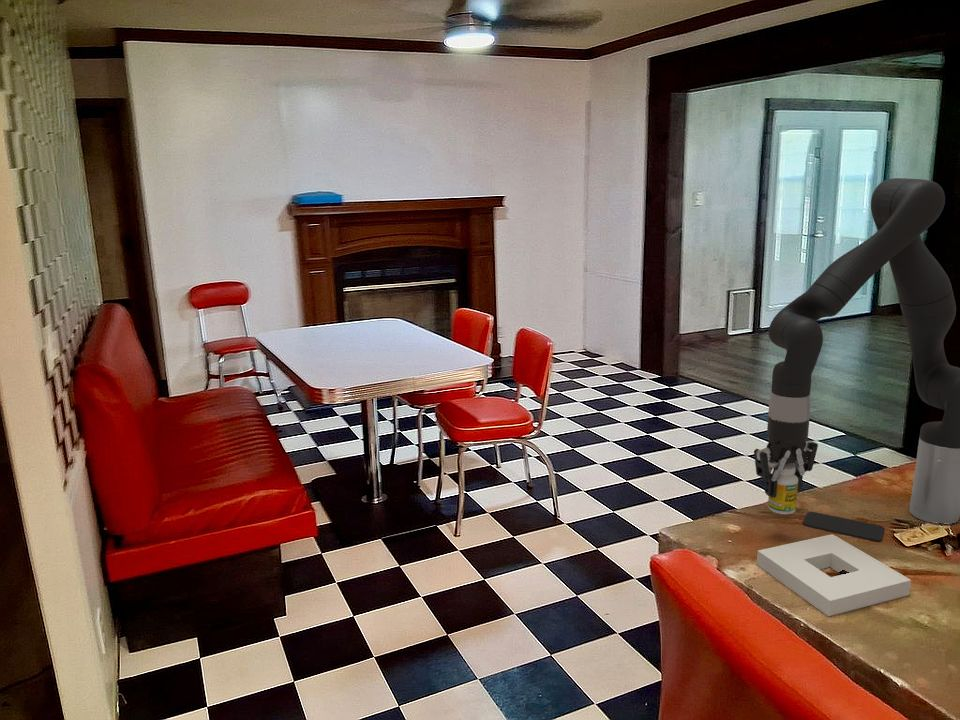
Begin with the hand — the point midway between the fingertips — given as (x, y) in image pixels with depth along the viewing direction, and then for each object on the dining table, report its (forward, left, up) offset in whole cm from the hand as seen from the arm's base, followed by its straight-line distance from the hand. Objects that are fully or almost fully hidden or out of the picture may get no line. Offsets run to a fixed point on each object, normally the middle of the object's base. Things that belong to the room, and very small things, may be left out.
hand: (782, 493), depth 146 cm
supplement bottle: (0, 0, -4) cm, 4 cm away
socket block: (+2, +16, -10) cm, 19 cm away
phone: (-16, +1, -11) cm, 19 cm away
